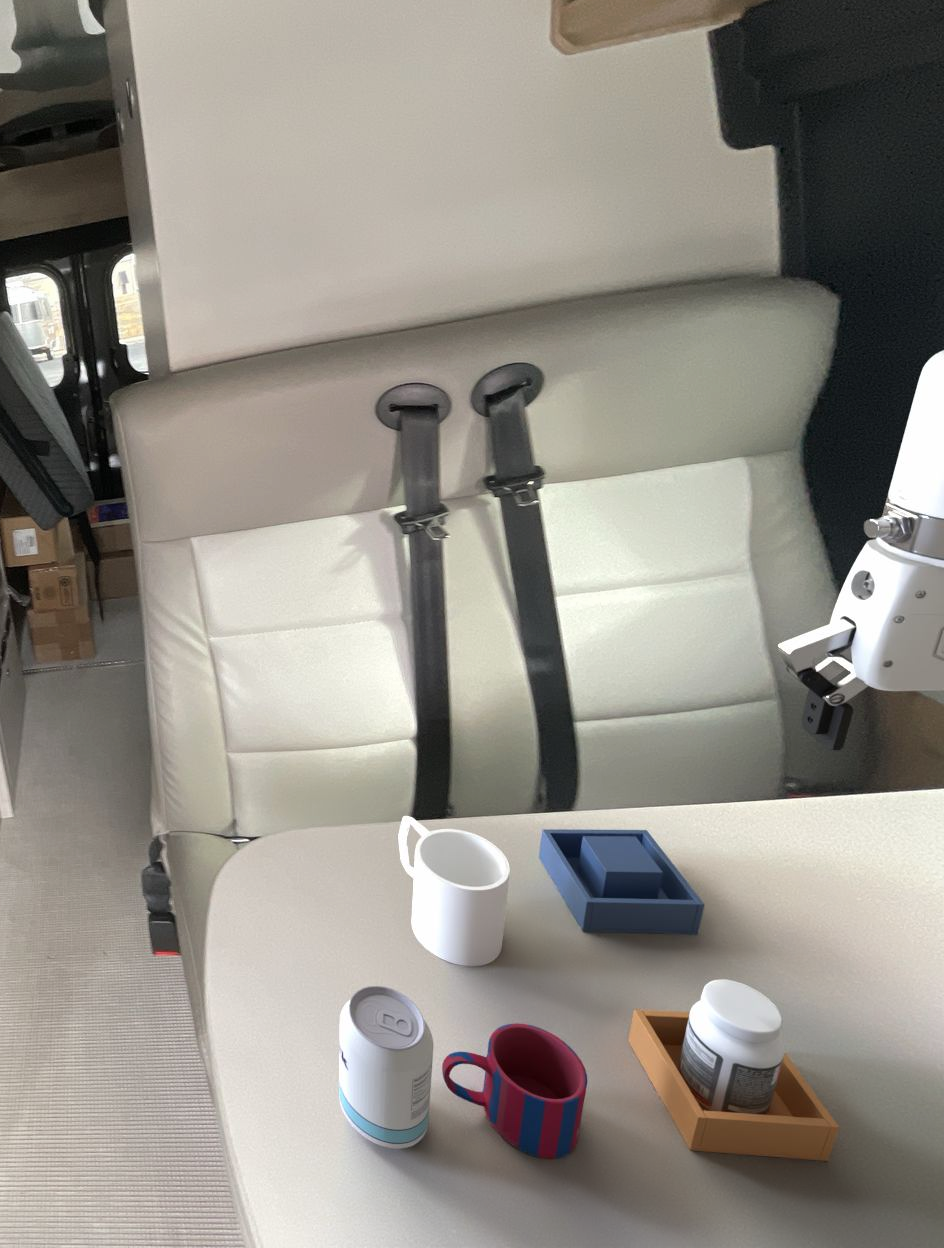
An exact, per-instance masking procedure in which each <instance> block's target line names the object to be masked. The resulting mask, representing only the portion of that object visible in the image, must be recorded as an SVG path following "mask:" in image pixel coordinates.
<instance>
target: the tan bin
mask: <svg viewBox="0 0 944 1248" xmlns="http://www.w3.org/2000/svg"><path fill="white" fill-rule="evenodd" d="M689 1014H690V1011H677V1010H656V1009H655V1010H654V1009H637V1008H635V1009H633V1013H632V1019H631V1023H630V1028H629V1029H630V1030H629V1035H628V1039H627V1040H628V1043H629V1045H630V1047H631V1048H632V1050H633V1052H634V1054H635V1055H636V1057H637V1060H638V1061H639V1062H640V1064H641V1066H642V1068H643V1070H644V1071H645V1073H646V1075H647V1076H648V1079H649V1080H650V1082H651V1084H652V1086H653V1088H654V1089H655V1091H656V1093H657V1094H658V1096H659V1098H660V1100H661V1101H662V1103H663V1105H664V1106H665V1109H666V1111H667V1112H668V1114H669V1116H670V1118H671V1119H672V1121H673V1123H674V1124H675V1126H676V1127H677V1129H678V1131H679V1133H680V1135H681V1137H682V1139H683V1140H684V1142H685V1144H686V1145H687V1147H688V1149H689V1151H694V1152H708V1153H720V1154H732V1155H733V1154H735V1155H745V1156H746V1155H747V1156H759V1157H773V1158H783V1159H784V1158H786V1159H797V1160H809V1161H821V1162H822V1161H824V1162H828V1161H829V1159H830V1156H831V1153H832V1150H833V1148H834V1145H835V1142H836V1139H837V1136H838V1133H839V1131H840V1126H839V1124H838V1122H836V1119H834V1117H833V1116H832V1115H831V1114H830V1112H829V1111H828V1109H827V1108H826V1107H825V1105H824V1104H823V1103H822V1101H821V1099H819V1097H818V1096H817V1094H816V1093H815V1092H814V1090H813V1089H812V1088H811V1086H810V1085H809V1084H808V1082H807V1081H806V1080H805V1078H804V1076H802V1074H801V1073H800V1071H799V1070H798V1069H797V1067H796V1066H795V1065H794V1063H793V1062H792V1061H791V1059H790V1058H789V1057H788V1055H787V1053H786V1052H785V1051H784V1058H783V1061H782V1065H781V1069H780V1072H779V1076H778V1079H777V1083H776V1087H775V1090H774V1094H773V1098H772V1101H771V1105H770V1109H769V1111H768V1113H767V1115H761V1114H746V1113H732V1112H717V1111H710V1110H709V1109H707V1108H706V1107H704V1106H703V1105H701V1104H700V1103H699V1102H698V1101H697V1100H696V1099H695V1098H694V1096H693V1094H692V1093H691V1091H690V1089H689V1088H688V1086H687V1084H686V1083H685V1081H684V1079H683V1078H682V1076H681V1074H680V1073H679V1070H678V1068H679V1061H680V1056H681V1052H682V1047H683V1042H684V1038H685V1033H686V1028H687V1024H688V1019H689Z"/></svg>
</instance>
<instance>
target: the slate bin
mask: <svg viewBox="0 0 944 1248" xmlns="http://www.w3.org/2000/svg"><path fill="white" fill-rule="evenodd" d="M583 836H628V837H637V839H638V840H639V841H640V843H641V844H642V845H643V847H644V848H645V849H646V851H647V852H648V853H649V855H650V856H651V857H652V859H653V860H654V861H655V863H656V864H657V865H658V867H659V868H660V869H661V871H662V872H663V874H662V879H661V884H660V889H659V894H658V899H624V898H594V897H593V895H592V894H591V892H590V891H589V889H588V887H587V886H586V884H585V883H584V881H583V879H582V878H581V876H580V875H579V873H578V866H579V859H580V852H581V845H582V838H583ZM539 844H540V846H539V853H538V858H539V860H540V862H541V863H542V865H543V867H544V868H545V870H546V872H547V873H548V875H549V877H550V879H551V880H552V882H553V884H554V886H555V887H556V889H557V890H558V892H559V894H560V895H561V897H562V899H563V900H565V901H564V902H565V904H566V906H567V908H568V909H569V911H570V912H571V914H572V916H573V918H574V919H575V921H576V922H577V925H578V926H579V928H580V929H581V931H582V932H590V933H591V932H596V933H626V934H627V933H628V934H629V933H630V934H659V935H660V934H664V935H665V934H667V935H699V931H700V926H701V923H702V917H703V914H704V910H705V903H704V902H703V901H702V899H701V897H700V896H699V895H698V894H697V893H696V891H695V890H694V889H693V888H692V886H691V885H690V884H689V882H688V881H687V880H686V879H685V878H684V876H683V875H682V874H681V872H680V871H679V870H678V868H677V867H676V866H675V864H674V863H673V862H672V861H671V860H670V858H669V857H668V855H667V854H666V853H665V851H664V850H663V849H662V848H661V846H660V845H659V844H658V843H657V841H656V840H655V839H654V837H653V836H652V834H650V832H649V831H648V830H647V829H567V828H566V829H565V828H564V829H563V828H561V829H560V828H559V829H557V828H556V829H555V828H553V829H546V828H542V830H541V837H540V843H539Z"/></svg>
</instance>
